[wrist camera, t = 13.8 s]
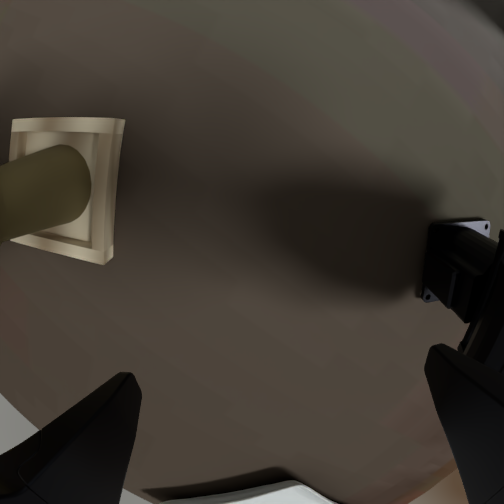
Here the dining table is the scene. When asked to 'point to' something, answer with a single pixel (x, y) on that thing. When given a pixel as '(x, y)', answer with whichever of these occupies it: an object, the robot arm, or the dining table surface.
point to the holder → (102, 179)
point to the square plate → (263, 496)
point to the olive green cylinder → (42, 191)
